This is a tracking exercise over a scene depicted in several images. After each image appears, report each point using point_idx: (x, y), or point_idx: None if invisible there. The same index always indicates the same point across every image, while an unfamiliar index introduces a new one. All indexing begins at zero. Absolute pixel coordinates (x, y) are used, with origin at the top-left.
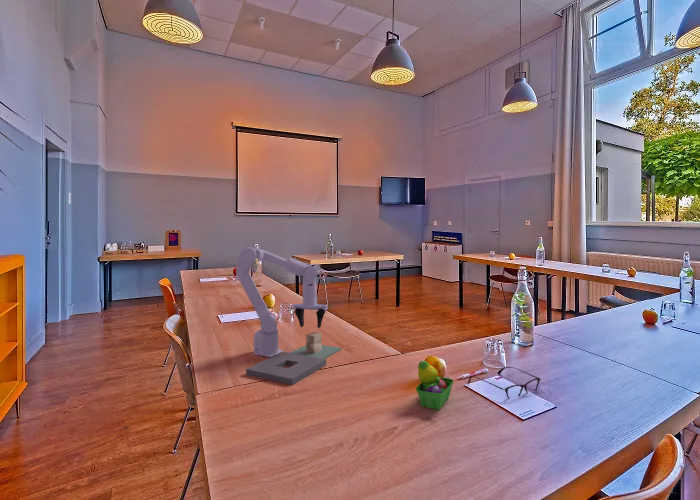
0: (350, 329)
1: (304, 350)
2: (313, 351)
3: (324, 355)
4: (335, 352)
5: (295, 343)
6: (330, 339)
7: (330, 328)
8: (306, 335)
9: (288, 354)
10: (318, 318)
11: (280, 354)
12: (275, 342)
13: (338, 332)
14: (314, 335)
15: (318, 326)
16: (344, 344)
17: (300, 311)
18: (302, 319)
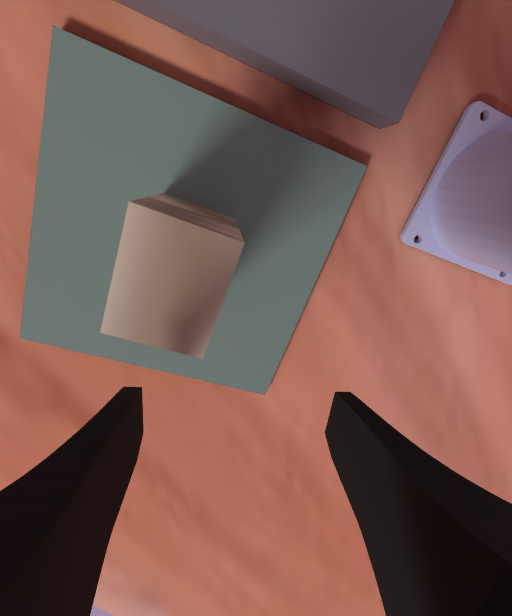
0: (127, 606)
1: (260, 255)
2: (171, 196)
3: (69, 155)
4: (31, 257)
5: (351, 391)
6: (173, 476)
7: (230, 598)
8: (237, 238)
9: (345, 48)
10: (59, 474)
11: (412, 43)
12: (510, 171)
13: (171, 565)
14: (137, 232)
15: (124, 394)
16: (54, 418)
17: (480, 606)
18: (363, 484)
